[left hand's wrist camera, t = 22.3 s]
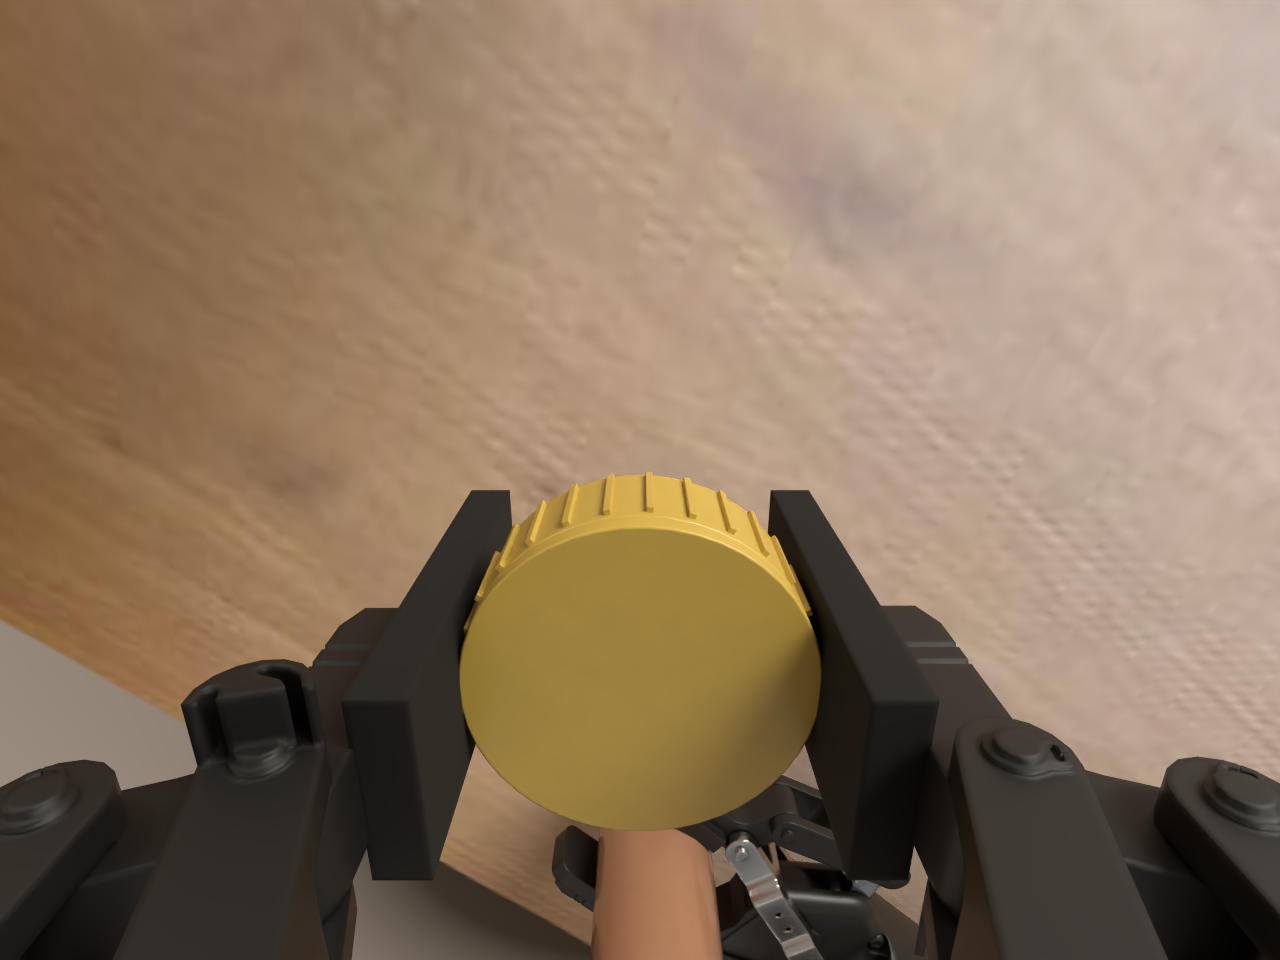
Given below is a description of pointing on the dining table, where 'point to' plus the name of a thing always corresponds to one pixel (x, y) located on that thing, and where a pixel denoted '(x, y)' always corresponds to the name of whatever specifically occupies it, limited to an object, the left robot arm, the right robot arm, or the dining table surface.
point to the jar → (654, 898)
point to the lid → (640, 656)
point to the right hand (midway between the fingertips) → (603, 813)
